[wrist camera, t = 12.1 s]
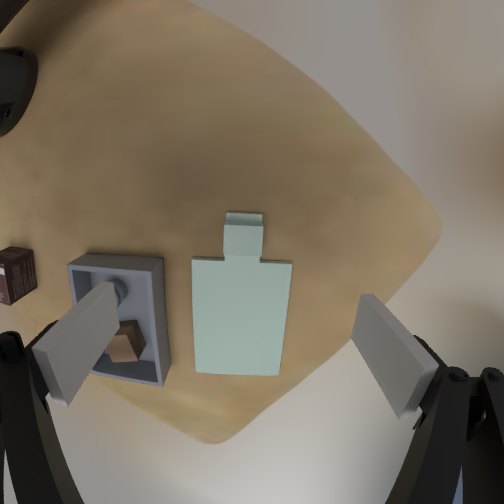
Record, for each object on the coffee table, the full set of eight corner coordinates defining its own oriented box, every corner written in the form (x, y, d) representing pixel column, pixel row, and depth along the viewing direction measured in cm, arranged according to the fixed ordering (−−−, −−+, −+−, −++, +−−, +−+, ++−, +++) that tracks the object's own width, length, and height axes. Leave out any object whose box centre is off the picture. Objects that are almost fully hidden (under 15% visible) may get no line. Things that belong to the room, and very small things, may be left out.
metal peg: (108, 274, 33) (95, 285, 30) (129, 283, 34) (118, 294, 30) (104, 295, 34) (93, 307, 31) (125, 304, 34) (115, 317, 31)
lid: (193, 210, 32) (187, 215, 29) (295, 215, 33) (300, 220, 29) (196, 367, 38) (193, 383, 35) (277, 371, 39) (280, 386, 35)
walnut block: (112, 322, 35) (100, 337, 31) (136, 319, 35) (126, 334, 31) (122, 346, 36) (112, 362, 32) (146, 344, 36) (138, 360, 32)
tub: (86, 252, 33) (67, 264, 28) (163, 257, 33) (151, 271, 29) (103, 353, 37) (90, 373, 32) (170, 364, 38) (163, 386, 33)
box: (14, 281, 34) (-14, 298, 27) (9, 245, 32) (-21, 258, 25) (38, 287, 34) (10, 307, 27) (34, 249, 33) (3, 265, 26)
